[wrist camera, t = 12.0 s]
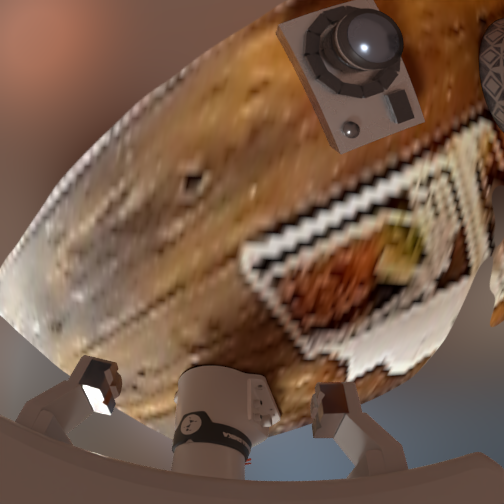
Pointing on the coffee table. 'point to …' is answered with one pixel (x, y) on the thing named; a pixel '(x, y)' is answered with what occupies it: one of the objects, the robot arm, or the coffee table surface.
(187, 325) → the coffee table surface
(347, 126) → the camera body
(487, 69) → the planter
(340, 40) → the lens
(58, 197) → the coffee table surface
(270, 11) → the coffee table surface
